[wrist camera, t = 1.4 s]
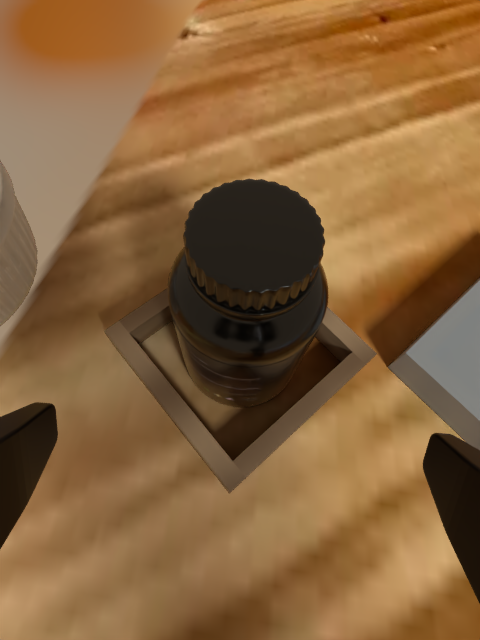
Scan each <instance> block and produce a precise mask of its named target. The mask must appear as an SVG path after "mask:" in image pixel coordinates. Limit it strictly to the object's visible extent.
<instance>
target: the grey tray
mask: <svg viewBox="0 0 480 640" xmlns="http://www.w3.org/2000/svg"><path fill="white" fill-rule="evenodd" d="M388 368H389V369H390V370H391V371H392V372H393V373H394V374H395V375H396V376H397V377H398V378H400V379H401V380H402V381H403V382H404V383H405V384H406V385H407V386H408V387H409V388H410V389H411V390H412V391H413V392H414V393H415V394H416V395H417V396H419V397H420V398H421V399H422V400H423V401H424V402H425V403H426V404H427V405H428V406H429V407H430V408H431V409H432V410H433V411H434V412H435V413H436V414H437V415H439V416H440V417H441V418H442V419H443V420H444V421H445V422H446V423H447V424H448V425H449V426H450V427H451V428H452V429H453V430H454V431H455V432H456V433H458V434H459V435H460V436H461V437H462V438H463V439H464V440H465V441H466V442H467V443H468V444H470V445H471V446H473V447H475V448H477V449H479V450H480V277H479V278H478V279H477V280H476V281H475V282H474V283H473V284H472V285H471V286H470V287H469V288H468V289H467V290H466V291H465V292H464V293H463V294H462V295H461V296H460V297H459V298H458V299H457V300H456V301H455V302H454V303H453V304H452V305H451V306H450V307H449V308H448V309H447V310H446V311H445V312H444V313H443V314H442V315H441V316H440V317H439V318H438V319H436V320H435V321H434V322H433V323H432V324H431V325H430V326H429V327H428V328H427V329H426V330H425V331H424V332H423V333H422V334H421V335H420V336H419V337H418V338H417V339H416V340H415V341H414V342H413V343H412V344H411V345H410V346H409V347H408V348H407V349H406V350H405V351H404V352H403V353H402V354H401V355H400V356H399V357H398V358H397V359H396V360H395V361H393V362H392V363H391V364H390V365H389V366H388Z"/></svg>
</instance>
